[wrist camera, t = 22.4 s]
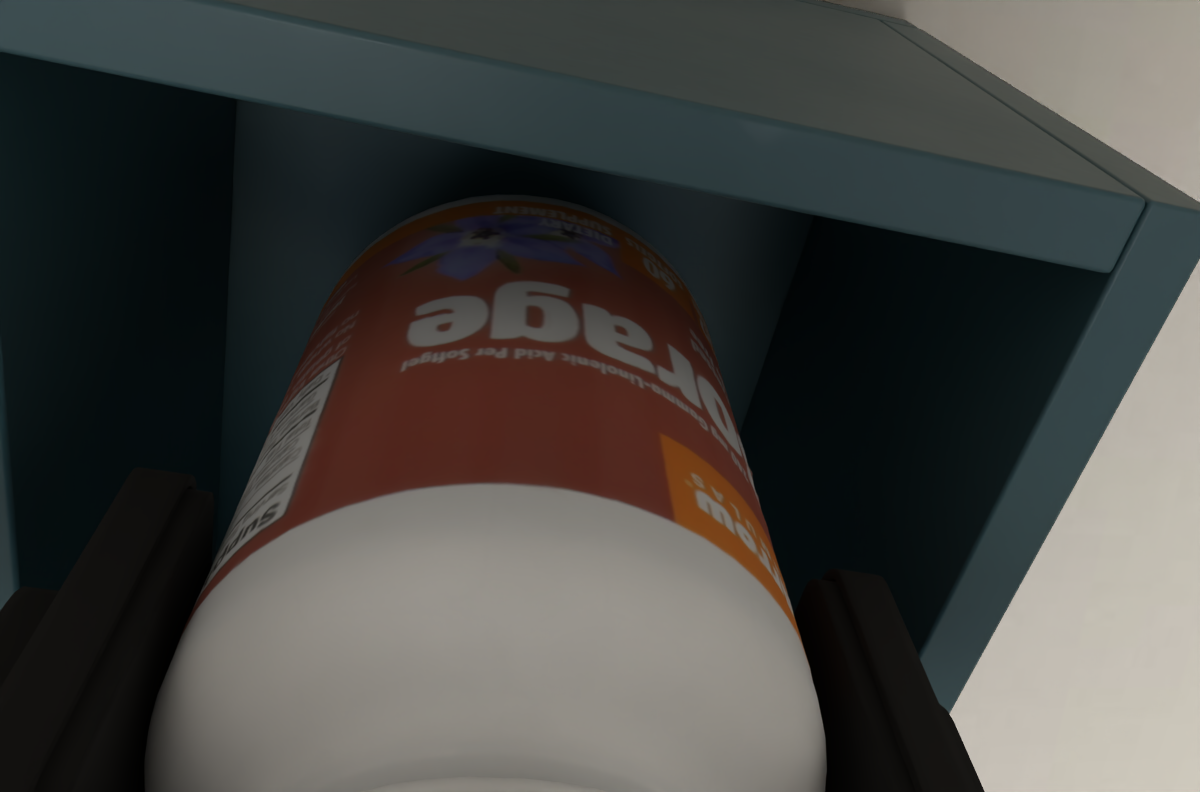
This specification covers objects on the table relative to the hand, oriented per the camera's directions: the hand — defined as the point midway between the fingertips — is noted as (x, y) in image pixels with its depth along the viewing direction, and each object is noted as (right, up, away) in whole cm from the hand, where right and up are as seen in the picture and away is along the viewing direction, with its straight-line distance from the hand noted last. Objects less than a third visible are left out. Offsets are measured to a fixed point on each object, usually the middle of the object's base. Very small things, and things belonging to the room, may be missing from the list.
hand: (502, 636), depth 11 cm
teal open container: (-1, +4, +10) cm, 11 cm away
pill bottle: (0, +3, +5) cm, 6 cm away
